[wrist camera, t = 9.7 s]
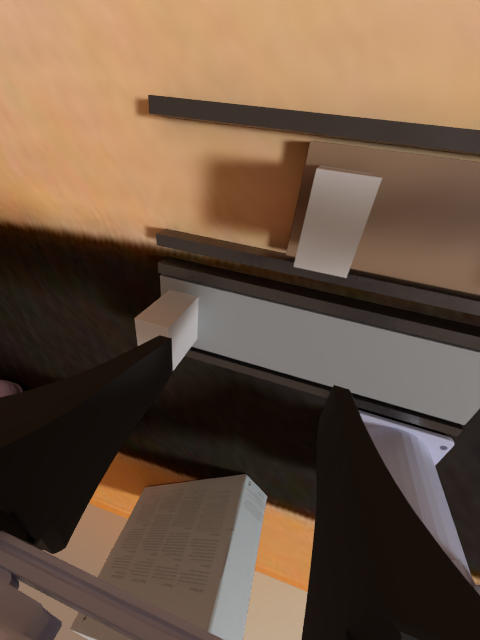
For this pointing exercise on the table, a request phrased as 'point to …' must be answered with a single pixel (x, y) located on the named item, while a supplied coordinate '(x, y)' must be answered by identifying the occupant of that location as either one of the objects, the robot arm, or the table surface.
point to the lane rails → (313, 299)
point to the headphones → (9, 388)
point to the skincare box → (188, 554)
